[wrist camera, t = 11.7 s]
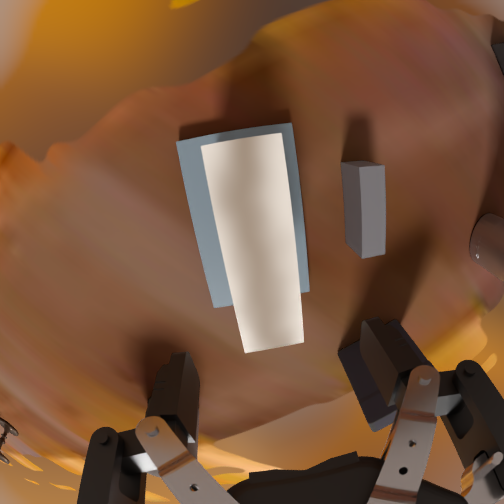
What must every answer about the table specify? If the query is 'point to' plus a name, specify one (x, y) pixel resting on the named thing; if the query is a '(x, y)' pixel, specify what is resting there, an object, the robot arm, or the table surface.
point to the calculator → (372, 382)
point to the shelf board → (257, 238)
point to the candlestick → (7, 429)
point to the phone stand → (499, 54)
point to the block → (364, 207)
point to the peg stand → (205, 216)
